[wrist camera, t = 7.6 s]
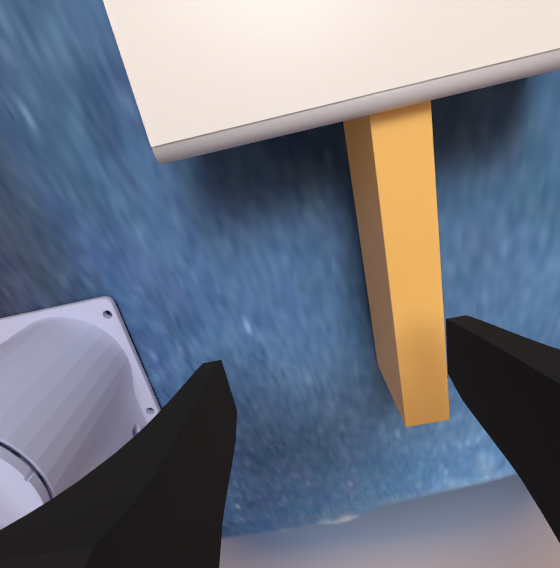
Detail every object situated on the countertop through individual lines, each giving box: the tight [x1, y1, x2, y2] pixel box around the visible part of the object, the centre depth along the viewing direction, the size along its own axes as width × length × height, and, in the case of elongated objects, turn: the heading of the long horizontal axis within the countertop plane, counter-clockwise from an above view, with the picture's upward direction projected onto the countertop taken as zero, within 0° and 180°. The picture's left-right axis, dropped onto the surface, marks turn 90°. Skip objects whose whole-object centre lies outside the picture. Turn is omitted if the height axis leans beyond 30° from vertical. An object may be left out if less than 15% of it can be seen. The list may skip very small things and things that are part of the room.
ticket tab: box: [343, 100, 450, 427], centre depth 16 cm, size 14×2×5 cm, turn 12°
